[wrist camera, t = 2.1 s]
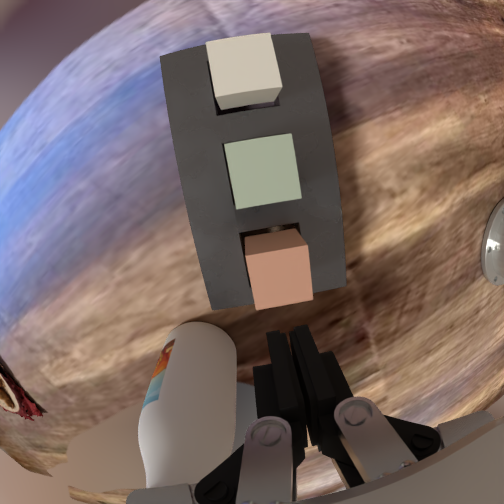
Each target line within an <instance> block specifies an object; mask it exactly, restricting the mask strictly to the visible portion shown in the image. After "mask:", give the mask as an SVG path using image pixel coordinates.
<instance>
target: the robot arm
mask: <svg viewBox="0 0 504 504" xmlns="http://www.w3.org/2000/svg"><path fill="white" fill-rule="evenodd" d="M481 262H482V269H483V273H484V275H485V278H486V279H487V280H488V281H489V282H490V283H492V284H494V285H497V286H498V285H502V284H504V199H502V200H501V201H500V202H499V203H498V205H497V206H496V207H495V209H494V210H493V212H492V214H491V216H490V219H489V221H488V223H487V227H486V230H485V233H484V238H483V243H482V253H481ZM266 335H267V340H268V346H269V352H270V357H271V363H272V364H267V365H261V366H255V367H253V376H254V386H255V397H256V407H257V416H258V419H257V420H255V421H254V422H253V423H251V424H250V426H249V427H248V429H247V431H246V435H245V442H244V444H243V445H242V446H241V447H239V448H238V449H237V450H236V451H235V452H234V453H233V454H232V455H230V456H229V457H228V458H227V459H226V460H225V461H223V462H222V463H221V464H220V465H219V466H217V467H216V468H215V469H214V470H213V471H211V472H210V473H209V474H208V475H206V476H205V477H204V478H203V479H201V480H200V481H199V482H198V483H195V484H190V485H189V484H188V483H184V484H178V485H171V486H163V487H155V488H145V489H138V490H134V491H133V492H131V493H130V494H129V495H128V497H127V500H126V504H504V416H503V417H501V418H498V419H496V420H495V419H494V417H493V416H492V415H491V414H490V413H489V412H487V411H477V412H475V413H472V414H469V415H466V416H463V417H460V418H457V419H454V420H451V421H448V422H444V423H441V424H438V426H437V427H434V428H431V427H429V426H425V425H421V424H416V423H412V422H408V421H404V420H401V419H397V418H393V417H390V416H386V415H383V414H382V413H381V411H380V410H379V409H378V407H377V406H376V405H375V404H374V403H373V402H372V401H371V400H369V399H367V398H365V397H354V396H353V394H352V392H351V390H350V388H349V385H348V383H347V381H346V379H345V377H344V375H343V372H342V370H341V368H340V366H339V364H338V362H337V360H336V358H335V355H334V353H333V352H332V351H328V352H324V353H320V354H319V352H318V350H317V347H316V345H315V342H314V340H313V337H312V335H311V332H310V330H309V328H308V325H302V326H297V327H294V331H290V332H289V335H290V343H291V351H292V355H291V351H290V348H289V344H288V341H287V337H286V334H285V333H280V331H279V330H277V331H272V332H267V333H266ZM306 424H307V426H306ZM307 428H308V432H309V436H310V440H311V444H312V446H315V445H317V446H318V450H319V452H320V451H322V454H323V455H326V456H328V457H330V458H331V459H332V462H333V464H334V466H335V468H336V470H337V472H338V474H339V476H340V478H341V480H342V482H343V483H344V485H345V487H346V490H343V491H339V492H336V493H332V494H328V495H324V496H320V497H315V498H311V499H306V500H301V501H297V467H298V466H299V465H300V464H301V462H302V461H303V460H304V459H305V450H304V448H306V447H308V440H307Z"/></svg>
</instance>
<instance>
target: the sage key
mask: <svg viewBox="0 0 504 504" xmlns="http://www.w3.org/2000/svg"><path fill="white" fill-rule="evenodd" d="M224 146H225V152H226V157H227V162H228V168H229V173H230V178H231V184H232V189H233V194H234V199H235V205H236V209H242V208H247V207H253V206H259V205H264V204H270V203H276V202H282V201H288V200H295V199H301V198H302V196H301V189H300V183H299V176H298V170H297V163H296V157H295V151H294V145H293V139H292V134H283V135H276V136H269V137H262V138H256V139H250V140H244V141H238V142H233V143H227V144H224Z"/></svg>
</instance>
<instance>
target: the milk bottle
mask: <svg viewBox="0 0 504 504" xmlns="http://www.w3.org/2000/svg"><path fill="white" fill-rule="evenodd" d="M236 366H237V356H236V347H235V344H234V342H233V341H232V339H231V338H230V337H229V336H228V334H227V333H226V332H225V331H223V330H222V329H221V328H219V327H217V326H215V325H212V324H209V323H205V322H189V323H185V324H182V325H180V326H178V327H176V328H175V329H173V330H172V331H171V332H170V334H169V335H168V337H167V339H166V341H165V344H164V346H163V349H162V352H161V354H160V357H159V360H158V362H157V365H156V368H155V371H154V374H153V376H152V379H151V382H150V385H149V388H148V391H147V395H146V398H145V401H144V404H143V408H142V411H141V415H140V419H139V426H138V439H139V446H140V451H141V454H142V458H143V462H144V466H145V471H146V480H147V487H146V488H155V487H163V486H171V485H178V484H184V483H188V484H189V485H190V484H195V483H198V482H199V481H200V480H201V479H203V478H204V477H205V476H206V475H208V474H209V473H210V472H211V471H213V470H214V469H215V468H216V467H217V466H219V465H220V464H221V463H222V462H223V461H225V460H226V459H227V458H228V457H229V456H230V454H231V451H232V448H233V443H234V436H235V419H236Z"/></svg>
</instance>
